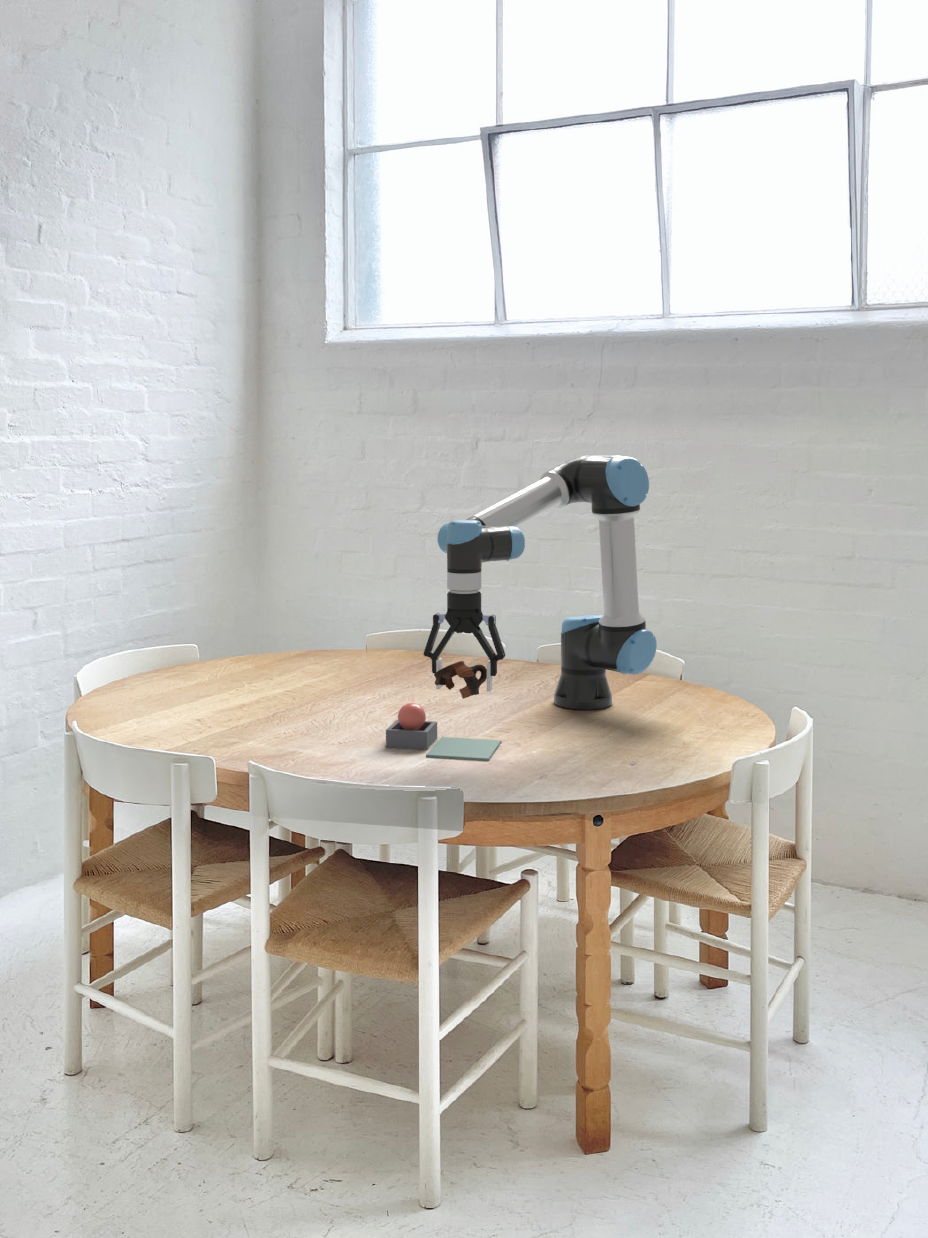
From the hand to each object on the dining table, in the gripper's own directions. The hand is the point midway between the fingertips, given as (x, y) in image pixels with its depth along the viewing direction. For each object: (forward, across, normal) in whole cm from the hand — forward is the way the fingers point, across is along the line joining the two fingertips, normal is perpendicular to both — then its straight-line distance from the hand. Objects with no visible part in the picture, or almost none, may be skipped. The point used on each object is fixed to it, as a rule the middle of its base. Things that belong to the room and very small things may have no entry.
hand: (464, 689), depth 256 cm
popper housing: (+14, +13, -3) cm, 19 cm away
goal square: (+14, 0, 0) cm, 14 cm away
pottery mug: (0, 0, +3) cm, 3 cm away
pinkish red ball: (+11, +13, -3) cm, 17 cm away
